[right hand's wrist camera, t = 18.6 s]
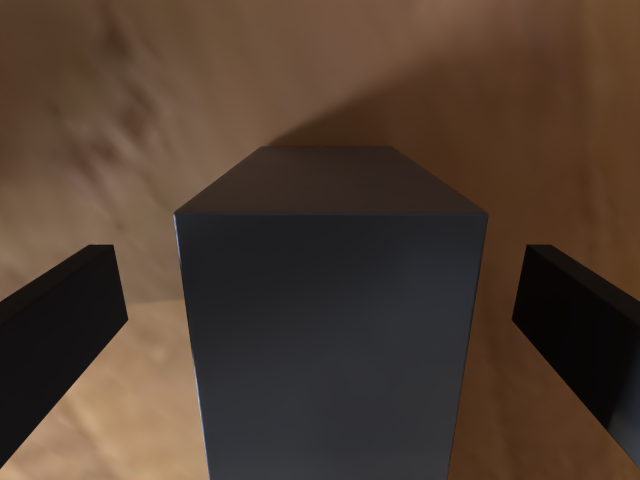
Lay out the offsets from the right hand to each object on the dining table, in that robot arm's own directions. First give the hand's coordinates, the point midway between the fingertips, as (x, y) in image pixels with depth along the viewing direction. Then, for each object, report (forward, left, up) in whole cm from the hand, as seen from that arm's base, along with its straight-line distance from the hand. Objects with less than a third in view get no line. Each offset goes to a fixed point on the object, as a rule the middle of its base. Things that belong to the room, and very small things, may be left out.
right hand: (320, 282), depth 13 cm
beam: (0, -11, -4) cm, 12 cm away
